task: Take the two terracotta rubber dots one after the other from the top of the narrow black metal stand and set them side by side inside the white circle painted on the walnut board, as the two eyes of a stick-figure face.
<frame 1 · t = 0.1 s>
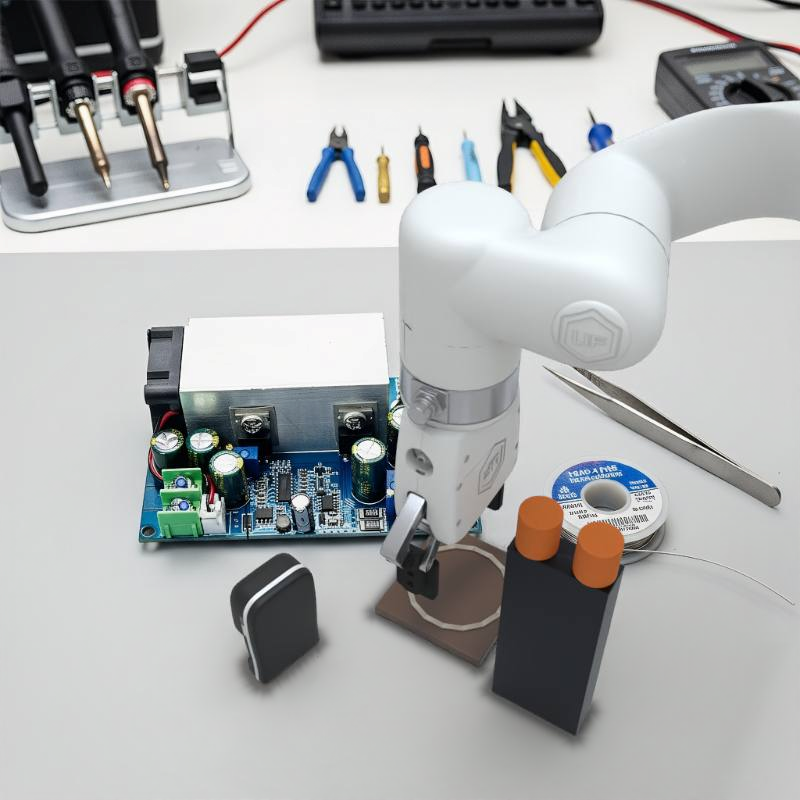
hand: (451, 543, 74), 19 cm above the table, tool pointing down, fingers open, 9 cm apart
eye dot 1: (536, 543, 73), point 20 cm above the table, touching dot stand
battery charger: (280, 652, 89), on the table
eye dot 2: (594, 570, 71), point 20 cm above the table, touching dot stand
dot stand: (540, 699, 86), on the table
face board: (458, 592, 94), on the table
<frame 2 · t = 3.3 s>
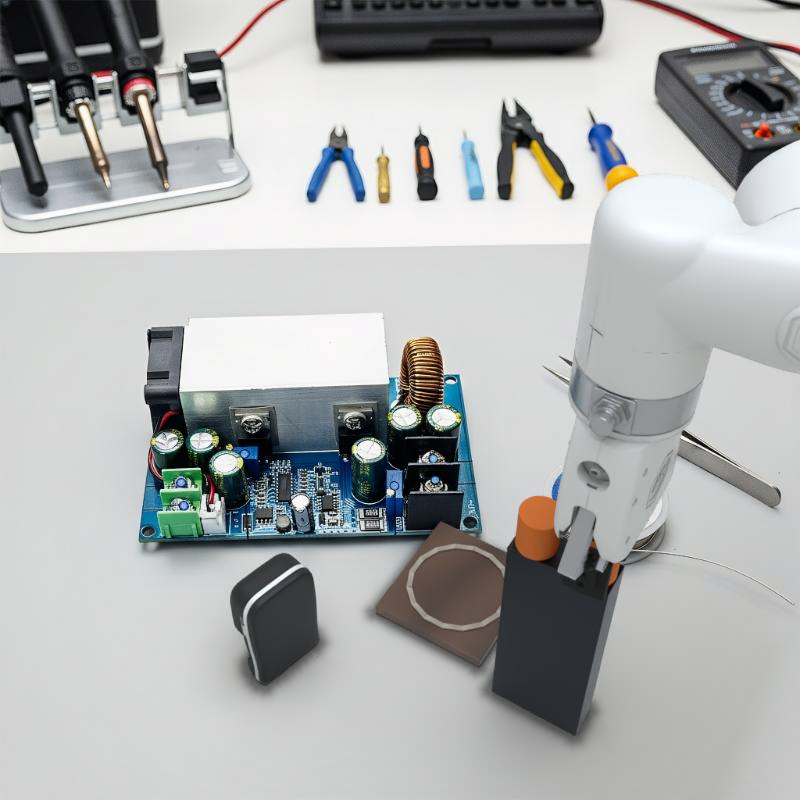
hand: (595, 568, 71), 20 cm above the table, tool pointing down, fingers closed on eye dot 2, 3 cm apart
eye dot 2: (594, 570, 71), point 20 cm above the table, touching dot stand, gripper
everything else where it was.
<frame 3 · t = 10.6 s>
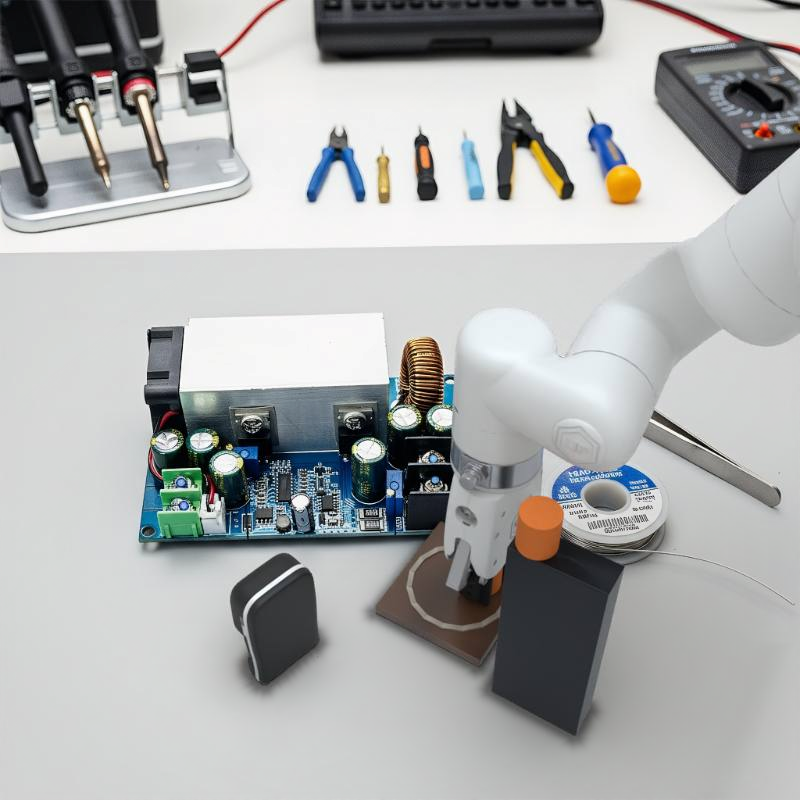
hand: (484, 581, 93), 1 cm above the table, tool pointing down, fingers closed on eye dot 2, 3 cm apart
eye dot 2: (483, 582, 93), point 1 cm above the table, touching gripper
everything else where it was.
when the fingers open (2 cm above the table, at t = 14.5 s): eye dot 2 drops 1 cm, resting on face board.
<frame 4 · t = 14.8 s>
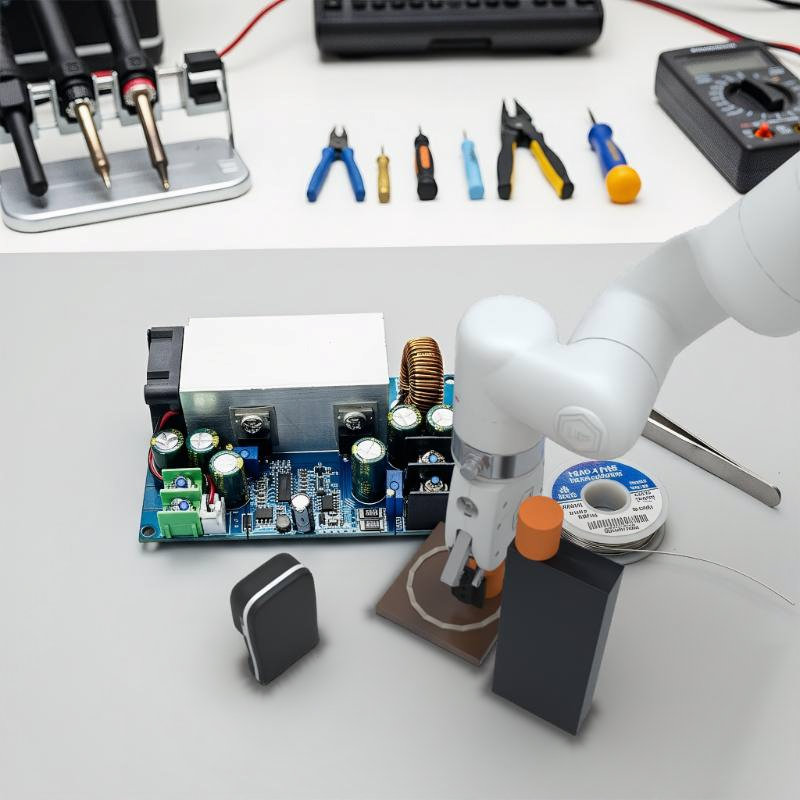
hand: (486, 572, 92), 3 cm above the table, tool pointing down, fingers open, 6 cm apart
eye dot 2: (485, 584, 93), point 1 cm above the table, touching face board
everything else where it was.
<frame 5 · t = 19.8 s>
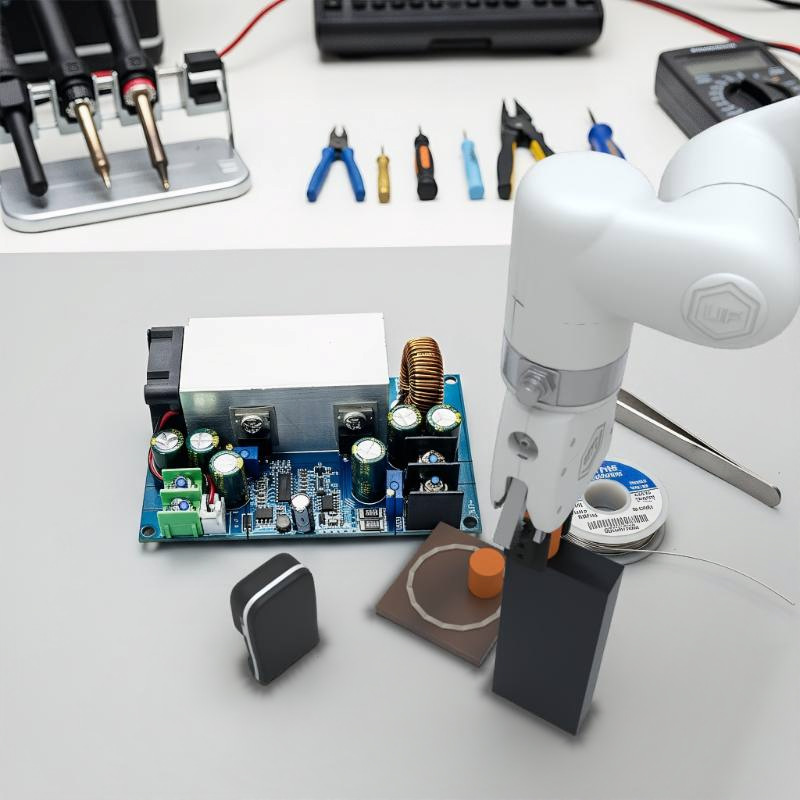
hand: (537, 542, 73), 20 cm above the table, tool pointing down, fingers closed on eye dot 1, 3 cm apart
eye dot 1: (536, 543, 73), point 20 cm above the table, touching dot stand, gripper
everything else where it was.
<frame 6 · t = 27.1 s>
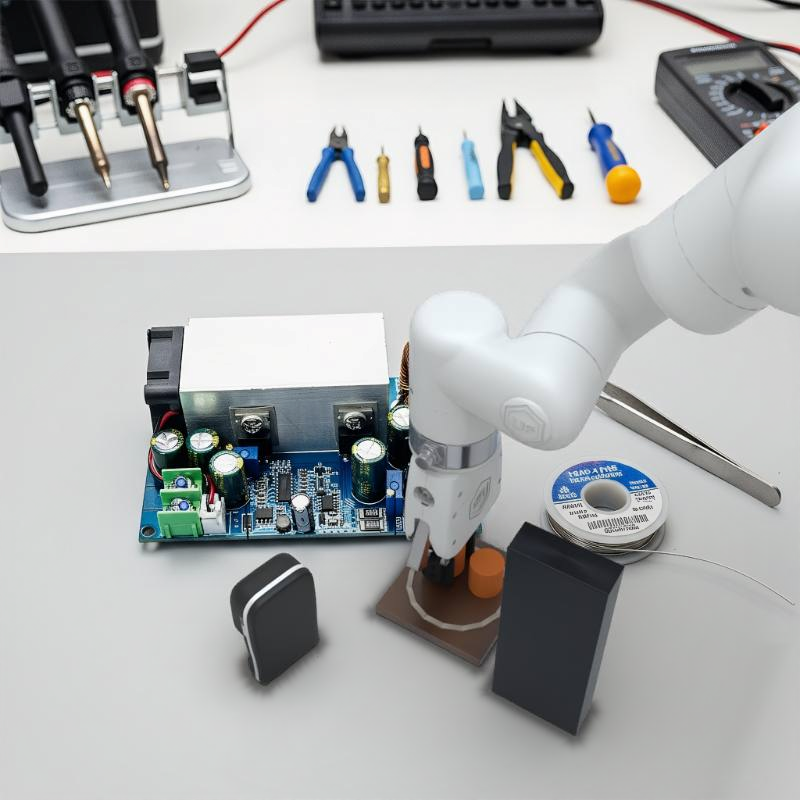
hand: (448, 563, 94), 1 cm above the table, tool pointing down, fingers closed on eye dot 1, 3 cm apart
eye dot 1: (447, 564, 95), point 1 cm above the table, touching gripper
everything else where it was.
when the fingers open (2 cm above the table, at t = 30.9 s): eye dot 1 drops 1 cm, resting on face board.
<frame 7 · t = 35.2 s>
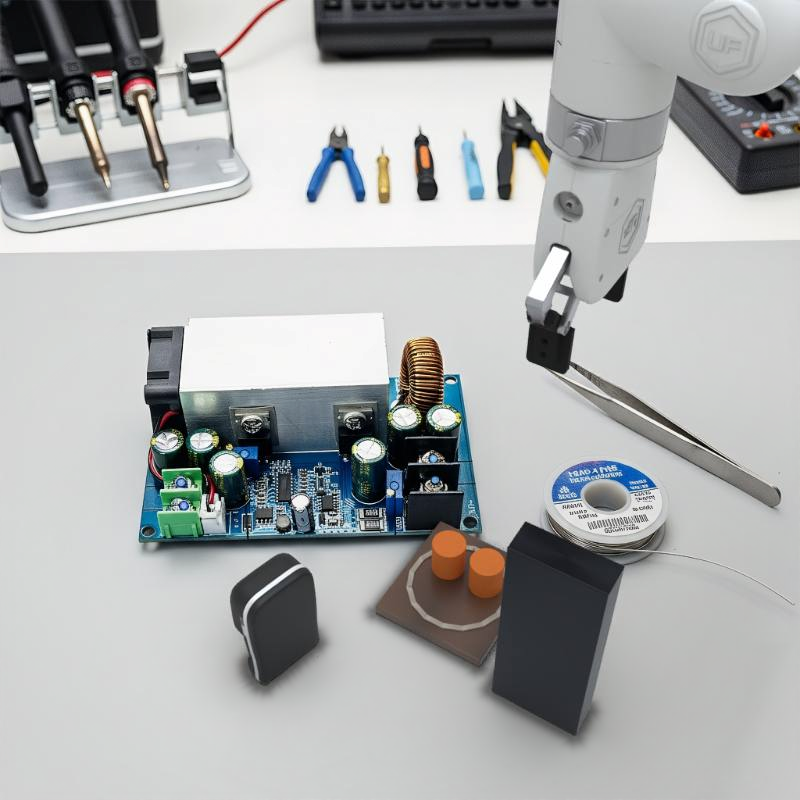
hand: (575, 329, 74), 30 cm above the table, tool pointing down, fingers open, 9 cm apart
eye dot 1: (448, 566, 95), point 1 cm above the table, touching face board
everything else where it was.
at the end: eye dot 2 0.1 cm from the target spot on the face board, point 1.0 cm above the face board's base; eye dot 1 0.1 cm from the target spot on the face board, point 1.0 cm above the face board's base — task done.
